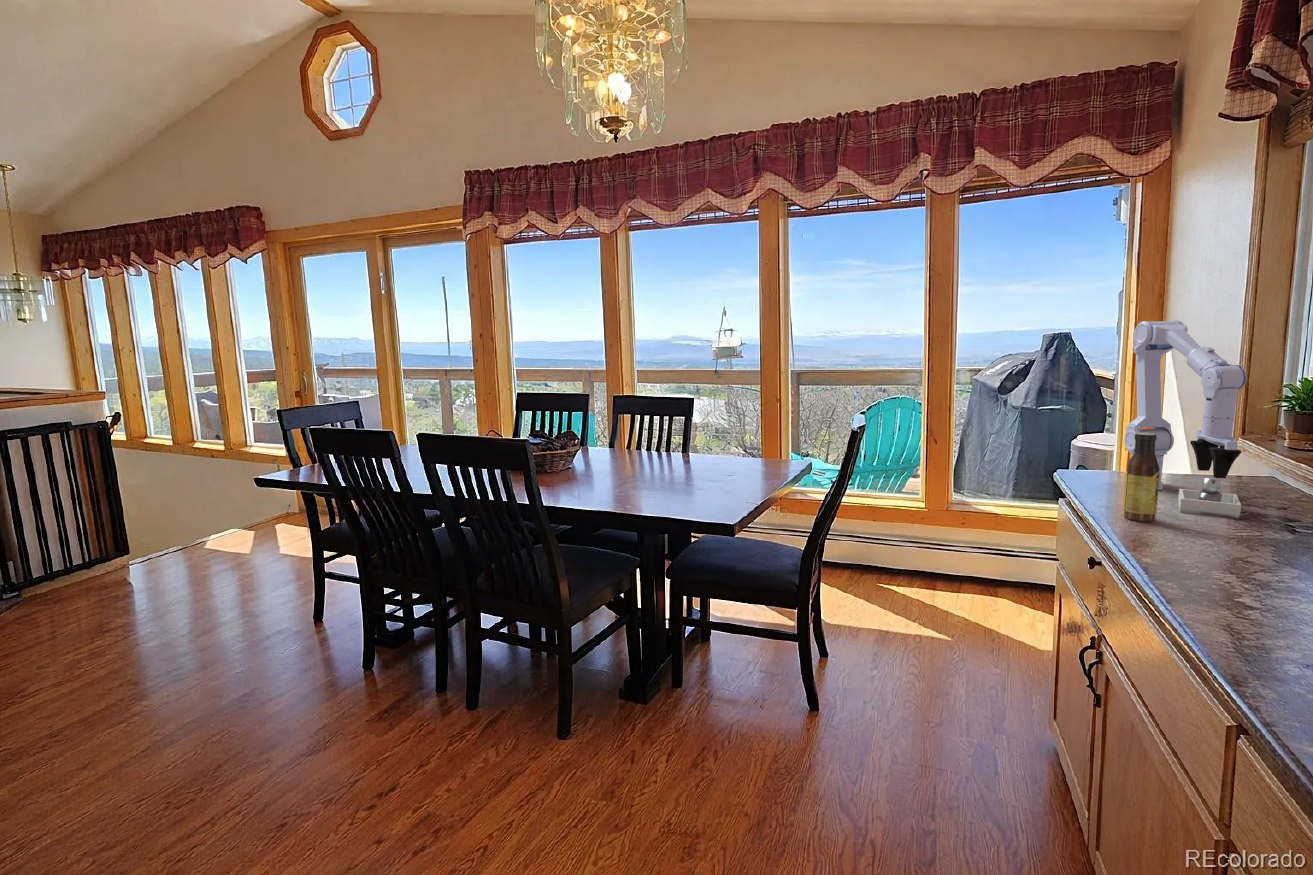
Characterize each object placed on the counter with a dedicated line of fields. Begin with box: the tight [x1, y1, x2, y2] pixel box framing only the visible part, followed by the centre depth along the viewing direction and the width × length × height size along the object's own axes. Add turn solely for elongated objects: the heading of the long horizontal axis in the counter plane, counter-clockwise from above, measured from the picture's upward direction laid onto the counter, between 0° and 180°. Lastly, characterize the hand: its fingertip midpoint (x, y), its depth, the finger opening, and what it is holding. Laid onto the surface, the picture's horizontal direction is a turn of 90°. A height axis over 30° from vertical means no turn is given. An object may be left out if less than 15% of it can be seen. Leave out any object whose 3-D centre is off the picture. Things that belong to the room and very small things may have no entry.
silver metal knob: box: [1199, 476, 1223, 502], centre depth 167 cm, size 4×4×7 cm
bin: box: [1177, 488, 1242, 520], centre depth 167 cm, size 11×11×3 cm
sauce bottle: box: [1123, 433, 1160, 522], centre depth 160 cm, size 7×6×20 cm
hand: (1211, 474), depth 166 cm, fingers open, 7 cm apart
